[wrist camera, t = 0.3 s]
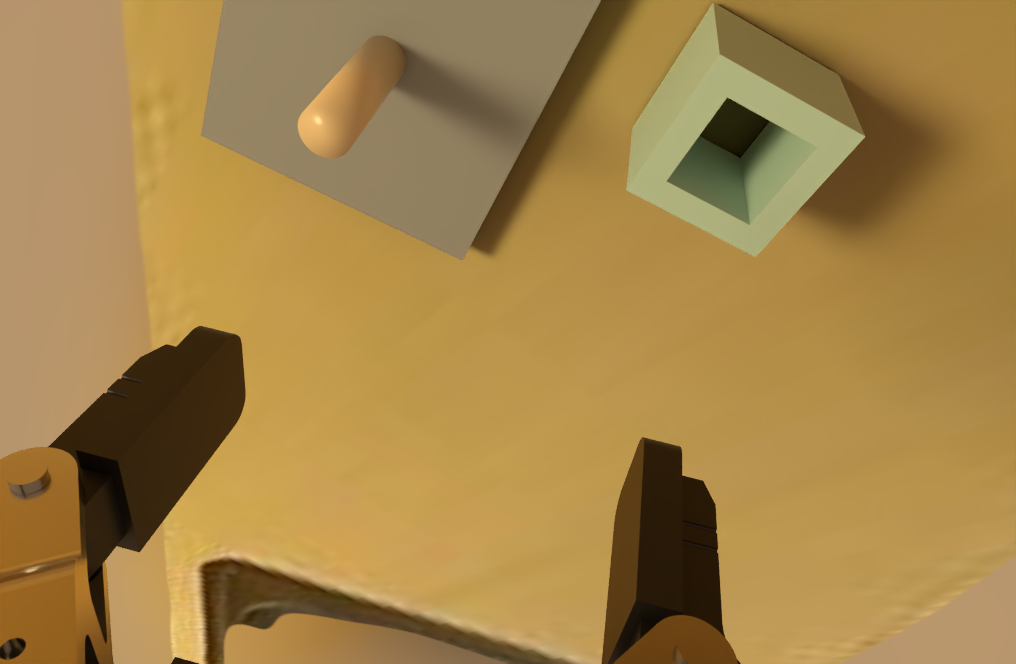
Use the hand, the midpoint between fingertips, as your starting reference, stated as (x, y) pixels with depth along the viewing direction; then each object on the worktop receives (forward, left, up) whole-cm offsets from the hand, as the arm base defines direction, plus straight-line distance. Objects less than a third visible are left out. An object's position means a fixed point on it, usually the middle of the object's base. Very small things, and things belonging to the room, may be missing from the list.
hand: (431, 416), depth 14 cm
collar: (-1, +8, -22) cm, 23 cm away
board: (+4, -6, -22) cm, 23 cm away
